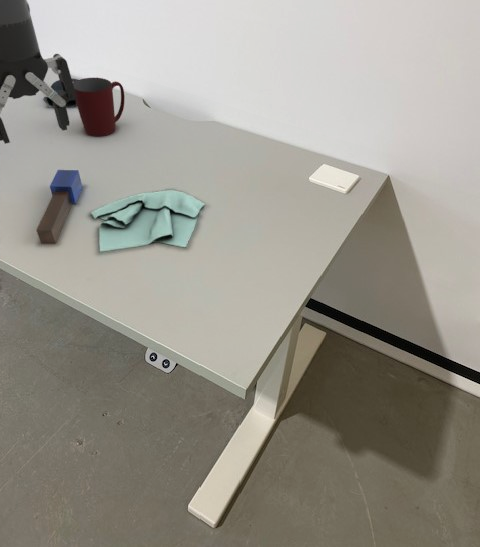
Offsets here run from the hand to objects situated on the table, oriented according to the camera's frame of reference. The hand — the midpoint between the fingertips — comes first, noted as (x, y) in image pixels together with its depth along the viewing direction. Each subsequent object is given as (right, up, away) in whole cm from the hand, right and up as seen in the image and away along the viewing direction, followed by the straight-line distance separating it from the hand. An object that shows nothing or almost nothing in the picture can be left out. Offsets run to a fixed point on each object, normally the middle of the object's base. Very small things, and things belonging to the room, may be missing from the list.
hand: (35, 134), depth 65 cm
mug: (-2, +15, +41) cm, 44 cm away
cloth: (+14, -11, +15) cm, 23 cm away
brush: (-2, -10, +15) cm, 18 cm away
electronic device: (-17, +28, +54) cm, 63 cm away
